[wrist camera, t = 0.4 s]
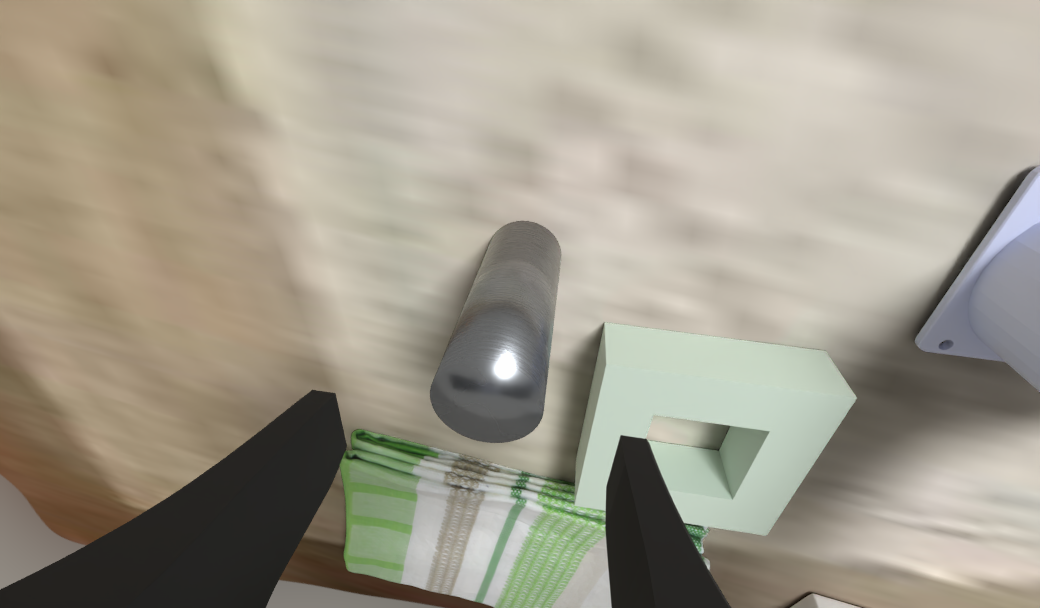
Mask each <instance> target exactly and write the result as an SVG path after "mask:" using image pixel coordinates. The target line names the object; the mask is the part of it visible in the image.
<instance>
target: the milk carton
mask: <svg viewBox="0 0 1040 608" xmlns="http://www.w3.org/2000/svg"><path fill="white" fill-rule="evenodd" d="M790 608H861V607H857V606H854V605H851V604H847V603H844V602H841V601H837V600H834V599H831V598H827V597H824V596H820V595H817V594H810V595H808V596H807V597H805V598H804V599H802V600H801V601H799V602H798V603H796V604H795V605H793V606H792V607H790Z"/></svg>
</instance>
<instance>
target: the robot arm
mask: <svg viewBox="0 0 1040 608" xmlns="http://www.w3.org/2000/svg"><path fill="white" fill-rule="evenodd" d="M945 340H946V341H945ZM943 341H945V342H944V343H941V342H943ZM940 343H941V344H940ZM915 344H916V345H917V346H918V347H919V348H920V349H921V350H922V351H925V352H931V353H939V354H947V355H954V356H962V357H970V358H978V359H986V360H994V361H1002V362H1006V363H1007V364H1008V365H1009V366H1010V367H1012V368H1013V369H1014V370H1015V371H1016V372H1017V373H1018V374H1020V375H1021V376H1022V377H1023V378H1024V379H1025V380H1026V381H1027V382H1029V383H1030V384H1031V385H1032V386H1033V387H1034V388H1035V389H1037V390H1038V391H1039V392H1040V166H1038V167H1036V168H1035V169H1033V170H1032V171H1031V172H1030V173H1029V174H1028V175H1027V176H1026V178H1025V179H1024V181H1023V182H1022V183H1021V185H1020V186H1019V188H1018V189H1017V191H1016V192H1015V194H1014V195H1013V197H1012V198H1011V199H1010V201H1009V202H1008V204H1007V205H1006V207H1005V208H1004V210H1003V211H1002V213H1001V214H1000V216H999V217H998V218H997V220H996V221H995V223H994V224H993V226H992V227H991V229H990V230H989V232H988V233H987V234H986V236H985V237H984V239H983V240H982V242H981V243H980V245H979V246H978V248H977V249H976V250H975V252H974V253H973V255H972V256H971V258H970V259H969V261H968V262H967V264H966V265H965V267H964V268H963V269H962V271H961V272H960V274H959V275H958V277H957V278H956V280H955V281H954V283H953V284H952V285H951V287H950V288H949V290H948V291H947V293H946V294H945V296H944V297H943V299H942V300H941V301H940V303H939V304H938V306H937V307H936V309H935V310H934V312H933V313H932V315H931V316H930V317H929V319H928V320H927V322H926V323H925V325H924V326H923V328H922V329H921V331H920V332H919V334H918V335H917V336H916V339H915ZM346 448H347V445H346V440H345V436H344V431H343V426H342V422H341V417H340V412H339V408H338V403H337V399H336V394H335V393H330V392H323V391H316V390H312V391H311V392H309V393H308V394H307V395H305V396H304V397H303V398H301V399H300V400H299V401H298V402H296V403H295V404H294V405H293V406H291V407H290V408H289V409H287V410H286V411H285V412H284V413H282V414H281V415H280V416H279V417H277V418H276V419H275V420H274V421H272V422H271V423H270V424H269V425H267V426H266V427H265V428H264V429H262V430H261V431H260V432H258V433H257V434H256V435H254V436H253V437H252V438H251V439H249V440H248V441H247V442H245V443H244V444H243V445H241V446H240V447H239V448H237V449H236V450H235V451H234V452H232V453H231V454H230V455H228V456H227V457H226V458H224V459H223V460H221V461H220V462H219V463H217V464H216V465H214V466H213V467H212V468H210V469H209V470H207V471H206V472H204V473H203V474H202V475H200V476H199V477H197V478H196V479H195V480H193V481H192V482H190V483H189V484H187V485H186V486H185V487H183V488H182V489H180V490H179V491H177V492H176V493H174V494H173V495H171V496H169V497H168V498H166V499H165V500H163V501H162V502H160V503H158V504H157V505H155V506H154V507H152V508H150V509H149V510H147V511H146V512H144V513H142V514H141V515H139V516H137V517H136V518H134V519H132V520H131V521H129V522H127V523H126V524H124V525H122V526H120V527H119V528H117V529H115V530H113V531H111V532H110V533H108V534H106V535H104V536H103V537H101V538H99V539H97V540H95V541H94V542H92V543H90V544H88V545H86V546H85V547H83V548H81V549H79V550H77V551H76V552H74V553H72V554H70V555H68V556H66V557H65V558H63V559H61V560H59V561H57V562H55V563H53V564H51V565H49V566H47V567H45V568H43V569H41V570H39V571H37V572H35V573H33V574H31V575H29V576H27V577H25V578H24V579H21V580H19V581H17V582H15V583H13V584H11V585H9V586H7V587H5V588H3V589H1V590H0V608H266V606H267V603H268V601H269V599H270V597H271V594H272V592H273V590H274V588H275V586H276V584H277V582H278V580H279V579H280V577H281V575H282V573H283V571H284V569H285V567H286V565H287V564H288V562H289V560H290V558H291V556H292V555H293V553H294V551H295V549H296V548H297V546H298V544H299V542H300V540H301V539H302V537H303V535H304V533H305V532H306V530H307V528H308V526H309V524H310V523H311V521H312V519H313V517H314V515H315V514H316V512H317V510H318V508H319V506H320V505H321V503H322V501H323V499H324V497H325V496H326V494H327V492H328V490H329V488H330V486H331V484H332V482H333V480H334V477H335V475H336V473H337V470H338V468H339V465H340V463H341V460H342V458H343V455H344V453H345V450H346ZM605 532H606V545H607V557H608V570H609V582H610V594H611V606H612V608H731V607H730V605H729V603H728V602H727V600H726V599H725V597H724V595H723V594H722V592H721V590H720V589H719V587H718V585H717V583H716V582H715V580H714V578H713V577H712V575H711V573H710V571H709V570H708V568H707V566H706V564H705V562H704V561H703V559H702V557H701V555H700V553H699V551H698V550H697V548H696V546H695V544H694V542H693V540H692V538H691V536H690V534H689V532H688V530H687V528H686V526H685V524H684V522H683V520H682V518H681V516H680V514H679V512H678V510H677V508H676V506H675V504H674V502H673V499H672V497H671V495H670V493H669V491H668V488H667V486H666V484H665V481H664V479H663V477H662V474H661V472H660V470H659V467H658V465H657V462H656V460H655V457H654V454H653V452H652V449H651V446H650V443H649V442H648V441H647V439H644V438H637V437H630V436H623V435H620V439H619V442H618V446H617V450H616V453H615V457H614V461H613V464H612V468H611V471H610V475H609V479H608V482H607V486H606V518H605Z"/></svg>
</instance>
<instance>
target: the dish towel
mask: <svg viewBox="0 0 1040 608" xmlns="http://www.w3.org/2000/svg"><path fill="white" fill-rule="evenodd" d="M351 444H352V449H353V450H352V451H345V453H344V455H343V458H342V460H341V463H340V469H341V475H342V481H343V486H344V493H345V501H346V541H345V549H344V560H345V562H346V568H347V570H348V571H350V572H353V573H360V574H366V575H370V576H374V577H378V578H381V579H384V580H388V581H391V582H396V583H401V584H406V585H411V586H415V587H418V588H421V589H425V590H428V591H432V592H437V593H442V594H448V595H452V596H457V597H461V598H465V599H468V600H471V601H475V602H480V603H483V604H487V605H490V606H492V607H495V608H612V606H611V594H610V582H609V570H608V557H607V545H606V532H605V518H606V511H604V510H598V509H592V508H585V507H579V506H574V501H575V484H574V483H571V482H565V481H562V480H557V479H551V478H548V477H543V476H537V475H533V474H531V473H527V472H523V471H520V470H516V469H511V468H508V467H505V466H501V465H498V464H495V463H491V462H488V461H485V460H480V459H477V458H474V457H470V456H466V455H463V454H459V453H454V452H448V451H444V450H441V449H438V448H434V447H428V446H425V445H421V444H418V443H414V442H410V441H406V440H402V439H399V438H394V437H390V436H387V435H382V434H376V433H373V432H370V431H366V430H362V429H358V430H355V431H354V432H353V433H352V435H351ZM684 524H685V526H686V528H687V530H688V532H689V534H690V536H691V538H692V540H693V542H694V544H695V546H696V548H697V550H698V551H699V553H700V555H701V554H702V553H704V548H703V543H702V540H703V539H704V537H706V536H707V533H709V529H708V527H706V526H700V525H694V524H687V523H684ZM701 557H702V559H703V561H704V562H705V564H706V566H707V568H708V570H709V571H710V562H709V560H708V559H707V558H705V557H703V556H701Z"/></svg>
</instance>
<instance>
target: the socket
mask: <svg viewBox="0 0 1040 608" xmlns="http://www.w3.org/2000/svg"><path fill="white" fill-rule="evenodd" d="M856 399H857V397H856V396H855V394H854V393H853V391H852V390H851V388H850V387H849V385H848V384H847V382H846V381H845V379H844V378H843V376H842V375H841V373H840V372H839V370H838V369H837V367H836V366H835V364H834V363H833V361H832V360H831V358H830V357H829V355H828V354H827V352H826V351H822V350H815V349H807V348H799V347H792V346H784V345H776V344H768V343H761V342H753V341H745V340H737V339H730V338H722V337H714V336H706V335H699V334H691V333H683V332H675V331H668V330H660V329H652V328H644V327H637V326H629V325H621V324H613V323H606V322H605V323H604V328H603V332H602V337H601V342H600V347H599V352H598V356H597V361H596V366H595V371H594V375H593V380H592V385H591V390H590V395H589V399H588V404H587V409H586V414H585V418H584V423H583V428H582V433H581V438H580V442H579V447H578V452H577V457H576V471H575V501H574V506H579V507H585V508H592V509H598V510H604V511H606V486H607V482H608V479H609V475H610V471H611V468H612V464H613V461H614V457H615V453H616V450H617V446H618V442H619V439H620V435H623V436H630V437H637V438H644V439H646V436H647V433H648V430H649V427H650V424H651V421H652V418H653V415H658V416H665V417H672V418H679V419H686V420H693V421H701V422H708V423H715V424H722V425H729V426H730V428H729V430H728V432H727V435H726V437H725V439H724V441H723V443H722V445H721V447H720V450H719V451H717V450H710V449H704V448H697V447H690V446H683V445H676V444H669V443H662V442H655V441H649V440H647V441H648V442H649V443H650V446H651V449H652V452H653V454H654V457H655V460H656V462H657V465H658V467H659V470H660V472H661V474H662V477H663V479H664V481H665V484H666V486H667V488H668V491H669V493H670V495H671V497H672V499H673V502H674V504H675V506H676V508H677V510H678V512H679V514H680V516H681V518H682V520H683V522H684V523H687V524H694V525H700V526H706V527H713V528H719V529H725V530H732V531H738V532H745V533H751V534H757V535H764V536H767V534H768V533H769V531H770V530H771V528H772V527H773V525H774V524H775V522H776V521H777V519H778V518H779V516H780V514H781V513H782V511H783V510H784V508H785V507H786V505H787V504H788V502H789V501H790V499H791V498H792V496H793V495H794V493H795V492H796V490H797V489H798V487H799V486H800V484H801V483H802V481H803V480H804V478H805V476H806V475H807V473H808V472H809V470H810V469H811V467H812V466H813V464H814V463H815V461H816V460H817V458H818V457H819V455H820V454H821V452H822V451H823V449H824V448H825V446H826V445H827V443H828V442H829V440H830V438H831V437H832V435H833V434H834V432H835V431H836V429H837V428H838V426H839V425H840V423H841V422H842V420H843V419H844V417H845V416H846V414H847V413H848V411H849V410H850V408H851V407H852V405H853V403H854V402H855V400H856Z"/></svg>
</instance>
